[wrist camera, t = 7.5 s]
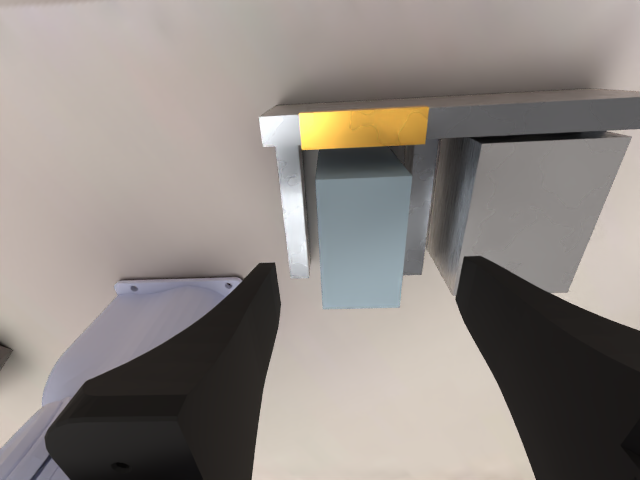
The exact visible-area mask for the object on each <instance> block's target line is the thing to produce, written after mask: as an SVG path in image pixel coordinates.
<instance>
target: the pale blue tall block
mask: <svg viewBox="0 0 640 480" xmlns="http://www.w3.org/2000/svg"><path fill="white" fill-rule="evenodd" d="M315 183H316V200H317V217H318V235H319V252H320V269H321V287H322V304H323V309H356V308H399V307H400V299H401V288H402V278H403V267H404V257H405V246H406V236H407V226H408V215H409V205H410V194H411V184H412V175H411V174H410V173H409V171H408V170H407V169H406V168H405V166H404V165H403V164H402V163H401V162H400V160H399V159H398V158H397V157H396V155H395V154H394V153H393V152H392V150H391V149H390V148H389V147H388V146H378V147H356V148H335V149H319V152H318V161H317V170H316V179H315Z"/></svg>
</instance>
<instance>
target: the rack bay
mask: <svg viewBox="0 0 640 480" xmlns="http://www.w3.org/2000/svg"><path fill="white" fill-rule="evenodd" d="M259 122H260V130H261V137H262V144H263V147H272V146H275V149H276V158H277V166H278V175H279V183H280V192H281V200H282V209H283V217H284V226H285V234H286V243H287V251H288V260H289V268H290V277H291V278H309V274H310V263H311V260H310V247H309V234H308V221H307V208H306V195H305V182H304V170H303V157H302V150H314V149H335V148H356V147H378V146H399V145H405V157H404V166H405V168H406V169H407V170H408V171H409V173H410V174H411V175H412V184H411V194H410V205H409V215H408V226H407V236H406V246H405V257H404V267H403V275H422V267H423V260H424V252H425V244H426V236H427V228H428V220H429V213H430V205H431V197H432V189H433V181H434V173H435V166H436V158H437V150H438V142H439V138H441V144H440V152H439V159H438V167H437V175H436V182H435V190H434V197H433V205H432V213H431V220H430V228H429V236H428V243H427V250H428V252H429V254H430V256H431V258H432V259H433V261H434V263H435V265H436V267H437V268H438V270H439V272H440V274H441V276H442V277H443V279H444V281H445V283H446V285H447V286H448V288H449V290H450V292H451V294H452V295H453V296H455V295H456V294H457V289H458V284H459V278H460V273H461V268H462V263H463V258H464V256H482V257H484V258H486V259H488V260H490V261H492V262H494V263H496V264H498V265H499V266H501V267H503V268H505V269H507V270H508V271H510V272H512V273H514V274H515V275H517V276H519V277H521V278H523V279H524V280H526V281H528V282H530V283H532V284H533V285H535V286H537V287H539V288H541V289H543V290H545V291H547V292H549V293H567V292H568V290H569V287H570V285H571V283H572V280H573V278H574V275H575V273H576V271H577V268H578V266H579V263H580V261H581V258H582V256H583V254H584V251H585V249H586V246H587V244H588V242H589V239H590V237H591V234H592V232H593V230H594V227H595V225H596V222H597V220H598V217H599V215H600V213H601V210H602V208H603V205H604V203H605V201H606V198H607V196H608V193H609V191H610V188H611V186H612V184H613V181H614V179H615V176H616V174H617V172H618V169H619V167H620V164H621V162H622V160H623V157H624V155H625V152H626V150H627V147H628V145H629V143H630V140H631V138H632V137H631V136H626V135H621V134H616V133H612V132H607V130H627V129H640V92H639V91H624V90H608V89H592V88H587V89H569V90H550V91H532V92H513V93H495V94H476V95H458V96H439V97H421V98H402V99H384V100H365V101H346V102H328V103H309V104H291V105H276V106H275V107H273V108H272V109H270V110H269V111H267V112H266V113H264V114H262V115H261V116H259Z"/></svg>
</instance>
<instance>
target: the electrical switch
mask: <svg viewBox="0 0 640 480" xmlns="http://www.w3.org/2000/svg"><path fill="white" fill-rule="evenodd" d="M12 351H13V350H12V349H9V348H6V347H3V346H0V370H1V368H2V367H3V365H4V364H5V362H6V360H7V359H8V357H9V356H10V354H11V353H12Z"/></svg>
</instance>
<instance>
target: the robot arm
mask: <svg viewBox="0 0 640 480" xmlns="http://www.w3.org/2000/svg"><path fill="white" fill-rule="evenodd" d="M227 283H230V284H231V286H230V285H228V284H227ZM134 286H136V287H137V288H136V287H134ZM114 288H115V291H116V293H117V295H118V296H117V297H116V298H115V299H114V300H113V301H112V302H111V303H110V304H109V305H108V306H107V307H106V308H105V309H104V310H103V311H102V313H101V314H100V315H99V316H98V317H97V318H96V319H95V320H94V321H93V322H92V323H91V324H90V325H89V326H88V327H87V328H86V330H85V331H84V332H83V333H82V334H81V335H80V336H79V337H78V338H77V339H76V340H75V341H74V342H73V343H72V344H71V345H70V347H69V348H68V349H67V350H66V351H65V352H64V353H63V354H62V355H61V357H60V358H59V359H58V361H57V362H56V364H55V365H54V367H53V369H52V371H51V373H50V375H49V377H48V380H47V382H46V385H45V388H44V392H43V397H42V408H40V409H39V410H38V411H37V412H36V413H35V414H34V415H33V416H32V417H31V418H30V419H29V420H28V421H27V422H26V423H25V424H24V425H23V426H22V427H21V428H20V429H19V430H18V431H17V432H16V433H15V434H14V435H13V436H12V437H11V438H10V439H9V440H8V441H7V442H6V443H5V445H4V446H3V447H2V448H1V449H0V480H251V479H252V470H253V462H254V453H255V445H256V437H257V430H258V422H259V415H260V408H261V401H262V394H263V388H264V383H265V378H266V374H267V370H268V366H269V362H270V358H271V355H272V351H273V347H274V343H275V338H276V334H277V330H278V325H279V317H280V308H281V301H280V294H279V287H278V280H277V273H276V266H275V263H259V264H258V265H257V266H256V267H255V268H254V269H253V270H252V271H251V272H250V273H249V274H248V276H247V277H246V278H245V279H244V280H243V281H242V280H241V279H240V278H237V277H226V278H192V279H157V280H123V281H118V282H117V283H116V284H115V286H114ZM456 302H457V305H458V308H459V311H460V313H461V316H462V318H463V321H464V323H465V325H466V327H467V329H468V330H469V332H470V334H471V336H472V338H473V340H474V341H475V343H476V345H477V347H478V348H479V350H480V352H481V354H482V356H483V357H484V359H485V361H486V363H487V364H488V366H489V368H490V370H491V372H492V373H493V375H494V377H495V379H496V381H497V383H498V385H499V387H500V390H501V392H502V394H503V396H504V399H505V401H506V403H507V406H508V408H509V410H510V413H511V415H512V418H513V420H514V423H515V425H516V428H517V430H518V433H519V435H520V438H521V440H522V443H523V445H524V448H525V451H526V453H527V456H528V459H529V462H530V464H531V467H532V470H533V473H534V475H535V478H536V480H640V331H639V330H636V329H633V328H630V327H628V326H625V325H622V324H619V323H617V322H614V321H611V320H609V319H606V318H604V317H601V316H599V315H597V314H594V313H592V312H589V311H587V310H585V309H582V308H580V307H578V306H576V305H573V304H571V303H569V302H567V301H565V300H563V299H561V298H559V297H557V296H555V295H553V294H551V293H549V292H547V291H545V290H543V289H541V288H539V287H537V286H535V285H533V284H532V283H530V282H528V281H526V280H524V279H523V278H521V277H519V276H517V275H515V274H514V273H512V272H510V271H508V270H507V269H505V268H503V267H501V266H499V265H498V264H496V263H494V262H492V261H490V260H488V259H486V258H484V257H482V256H464V258H463V263H462V268H461V273H460V278H459V284H458V289H457V294H456Z"/></svg>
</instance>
